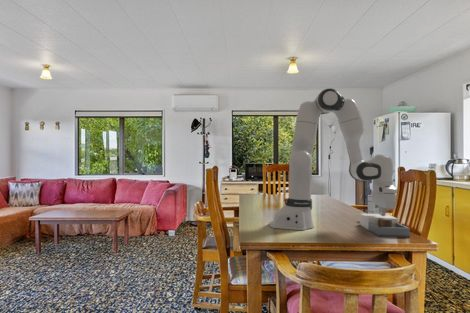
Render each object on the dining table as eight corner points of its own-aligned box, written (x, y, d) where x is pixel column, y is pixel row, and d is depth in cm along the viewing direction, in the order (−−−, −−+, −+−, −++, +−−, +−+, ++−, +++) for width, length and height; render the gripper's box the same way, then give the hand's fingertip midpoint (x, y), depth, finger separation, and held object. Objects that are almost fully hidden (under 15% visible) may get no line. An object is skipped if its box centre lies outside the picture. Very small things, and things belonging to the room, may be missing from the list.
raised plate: (368, 230, 154) (368, 217, 154) (360, 224, 166) (360, 213, 166) (397, 230, 153) (397, 218, 153) (387, 225, 165) (387, 214, 165)
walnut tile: (378, 228, 154) (380, 230, 151) (378, 218, 154) (381, 219, 151) (388, 229, 153) (391, 230, 150) (389, 218, 153) (391, 220, 150)
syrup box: (374, 221, 176) (374, 195, 176) (367, 219, 182) (367, 194, 181) (382, 220, 177) (383, 195, 177) (375, 218, 183) (375, 194, 183)
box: (377, 236, 142) (378, 227, 142) (368, 230, 154) (368, 221, 154) (409, 237, 141) (409, 228, 141) (397, 230, 153) (397, 222, 153)
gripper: (368, 185, 165) (368, 211, 165) (384, 189, 145) (384, 219, 145) (380, 185, 165) (380, 212, 165) (398, 189, 145) (398, 219, 145)
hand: (382, 215), depth 155 cm, fingers closed
